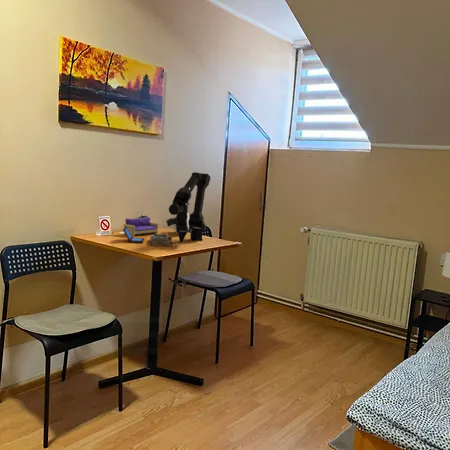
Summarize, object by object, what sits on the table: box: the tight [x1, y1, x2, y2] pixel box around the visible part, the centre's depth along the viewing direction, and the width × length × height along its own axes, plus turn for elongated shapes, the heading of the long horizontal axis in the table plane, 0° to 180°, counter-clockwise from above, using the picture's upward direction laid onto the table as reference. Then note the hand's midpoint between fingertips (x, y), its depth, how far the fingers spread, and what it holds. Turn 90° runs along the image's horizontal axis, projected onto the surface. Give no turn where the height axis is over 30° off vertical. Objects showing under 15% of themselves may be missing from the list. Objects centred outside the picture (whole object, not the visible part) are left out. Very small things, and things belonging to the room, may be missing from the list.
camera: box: [172, 213, 190, 235], centre depth 289 cm, size 11×18×16 cm, turn 178°
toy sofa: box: [123, 216, 159, 238], centre depth 276 cm, size 21×9×10 cm, turn 144°
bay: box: [149, 235, 173, 248], centre depth 252 cm, size 12×18×2 cm, turn 8°
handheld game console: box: [123, 227, 145, 244], centre depth 253 cm, size 12×11×7 cm
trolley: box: [152, 232, 169, 242], centre depth 252 cm, size 8×12×5 cm, turn 8°
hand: (180, 241), depth 254 cm, fingers open, 9 cm apart
